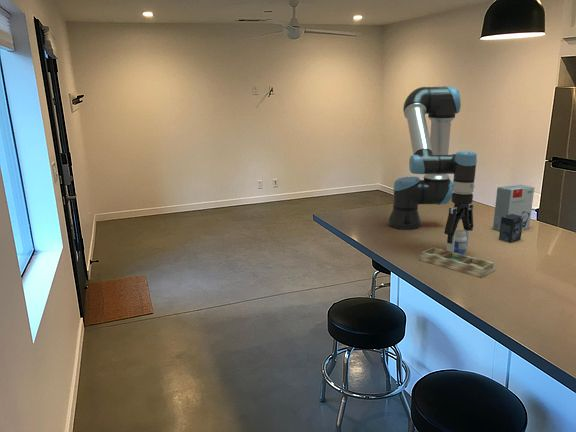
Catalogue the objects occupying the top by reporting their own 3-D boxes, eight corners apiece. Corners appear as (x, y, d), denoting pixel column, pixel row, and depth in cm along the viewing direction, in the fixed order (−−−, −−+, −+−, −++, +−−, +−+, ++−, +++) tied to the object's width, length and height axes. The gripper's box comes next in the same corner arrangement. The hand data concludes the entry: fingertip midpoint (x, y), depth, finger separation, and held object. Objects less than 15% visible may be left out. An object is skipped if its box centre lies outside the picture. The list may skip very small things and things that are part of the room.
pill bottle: (448, 253, 187) (450, 229, 185) (462, 252, 188) (463, 229, 185) (454, 257, 182) (456, 233, 180) (468, 257, 182) (470, 233, 180)
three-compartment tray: (418, 259, 180) (419, 252, 179) (433, 253, 186) (433, 246, 186) (481, 277, 162) (482, 269, 161) (495, 270, 168) (495, 262, 167)
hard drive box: (505, 233, 212) (509, 189, 207) (492, 228, 219) (496, 187, 214) (530, 228, 218) (534, 186, 213) (516, 224, 225) (520, 184, 220)
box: (510, 243, 198) (513, 218, 196) (498, 239, 203) (500, 216, 200) (521, 239, 203) (523, 216, 200) (509, 236, 207) (511, 213, 205)
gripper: (456, 197, 168) (450, 256, 173) (486, 190, 183) (480, 245, 188) (437, 194, 174) (432, 251, 178) (468, 188, 188) (463, 241, 193)
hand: (457, 248), depth 183 cm, fingers open, 10 cm apart
